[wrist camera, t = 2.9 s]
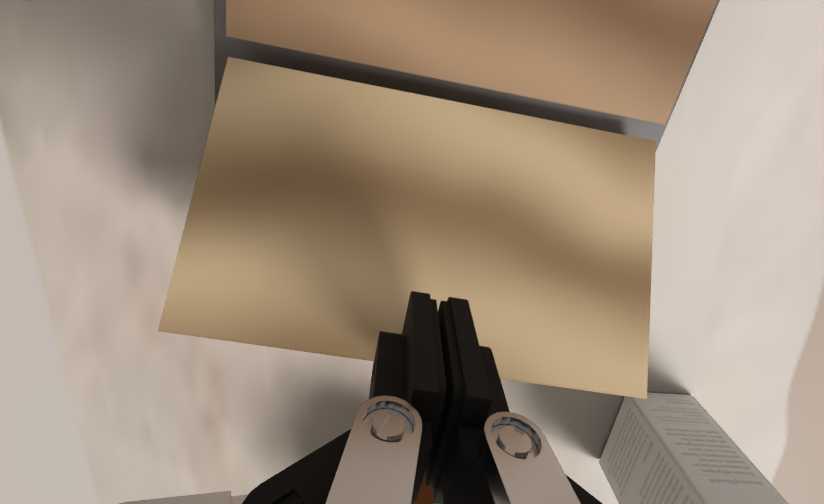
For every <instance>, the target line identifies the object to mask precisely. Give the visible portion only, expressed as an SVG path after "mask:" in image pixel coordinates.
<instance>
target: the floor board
mask: <svg viewBox="0 0 824 504" xmlns="http://www.w3.org/2000/svg"><path fill="white" fill-rule="evenodd" d="M719 1H720V0H214V26H215V106H216V102H217V98H218V94H219V90H220V86H221V83H222V79H223V75H224V71H225V67H226V63H227V59H228V57H232V58H237V59H242V60H247V61H252V62H257V63H262V64H267V65H272V66H277V67H283V68H288V69H293V70H298V71H303V72H308V73H313V74H318V75H323V76H328V77H333V78H338V79H343V80H348V81H354V82H359V83H364V84H369V85H374V86H379V87H384V88H389V89H394V90H399V91H404V92H409V93H414V94H419V95H425V96H430V97H435V98H440V99H445V100H450V101H455V102H460V103H465V104H470V105H475V106H480V107H485V108H490V109H495V110H501V111H506V112H511V113H516V114H521V115H526V116H531V117H536V118H541V119H546V120H551V121H556V122H561V123H566V124H572V125H577V126H582V127H587V128H592V129H597V130H602V131H607V132H612V133H617V134H622V135H627V136H632V137H637V138H642V139H648V140H653V141H656V144H655V152H656V150H657V147H658V145H659V143H660V140H661V138H662V136H663V133H664V131H665V128H666V126H667V124H668V121H669V119H670V117H671V114H672V112H673V110H674V107H675V105H676V102H677V100H678V98H679V95H680V93H681V91H682V88H683V86H684V84H685V81H686V79H687V76H688V74H689V72H690V69H691V67H692V65H693V62H694V60H695V58H696V55H697V53H698V50H699V48H700V46H701V43H702V41H703V39H704V36H705V34H706V32H707V29H708V27H709V24H710V22H711V20H712V17H713V15H714V13H715V10H716V8H717V6H718V3H719Z"/></svg>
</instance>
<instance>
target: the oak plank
mask: <svg viewBox="0 0 824 504" xmlns="http://www.w3.org/2000/svg"><path fill="white" fill-rule="evenodd" d="M655 144H656V141H653V140H648V139H642V138H637V137H632V136H627V135H622V134H617V133H612V132H607V131H602V130H597V129H592V128H587V127H582V126H577V125H572V124H566V123H561V122H556V121H551V120H546V119H541V118H536V117H531V116H526V115H521V114H516V113H511V112H506V111H501V110H495V109H490V108H485V107H480V106H475V105H470V104H465V103H460V102H455V101H450V100H445V99H440V98H435V97H430V96H425V95H419V94H414V93H409V92H404V91H399V90H394V89H389V88H384V87H379V86H374V85H369V84H364V83H359V82H354V81H348V80H343V79H338V78H333V77H328V76H323V75H318V74H313V73H308V72H303V71H298V70H293V69H288V68H283V67H277V66H272V65H267V64H262V63H257V62H252V61H247V60H242V59H237V58H232V57H228V59H227V63H226V67H225V71H224V75H223V79H222V83H221V86H220V90H219V94H218V98H217V102H216V106H215V110H214V114H213V118H212V122H211V126H210V129H209V133H208V137H207V141H206V145H205V149H204V153H203V157H202V161H201V165H200V168H199V172H198V176H197V180H196V184H195V188H194V192H193V196H192V200H191V204H190V207H189V211H188V215H187V219H186V223H185V227H184V231H183V235H182V239H181V243H180V246H179V250H178V254H177V258H176V262H175V266H174V270H173V274H172V278H171V282H170V286H169V289H168V293H167V297H166V301H165V305H164V309H163V313H162V317H161V321H160V325H159V328H158V331H161V332H168V333H175V334H182V335H190V336H197V337H204V338H211V339H218V340H226V341H233V342H240V343H247V344H254V345H261V346H269V347H276V348H283V349H290V350H297V351H305V352H312V353H319V354H326V355H333V356H340V357H348V358H355V359H362V360H369V361H374V358H375V352H376V347H377V341H378V336H379V332H380V331H384V332H391V333H397V334H402V330H403V326H404V321H405V316H406V311H407V307H408V302H409V297H410V293H411V291H415V292H422V293H428V294H430V298H431V299H435V300H436V301H437V309H439V305H440V302H441V301H447V299H448V298H449V297H454V298H460V299H466V300H468V302H469V306H470V310H471V314H472V318H473V322H474V326H475V330H476V334H477V338H478V342H479V346H485V347H489V348H491V350H492V353H493V356H494V360H495V363H496V367H497V370H498V374H499V377H500V379H506V380H513V381H520V382H527V383H534V384H542V385H549V386H556V387H563V388H570V389H577V390H585V391H592V392H599V393H606V394H613V395H621V396H628V397H635V398H642V399H647V382H648V352H649V323H650V293H651V263H652V233H653V204H654V174H655Z"/></svg>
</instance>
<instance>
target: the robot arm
mask: <svg viewBox="0 0 824 504" xmlns="http://www.w3.org/2000/svg"><path fill="white" fill-rule="evenodd" d="M424 473H425V478H426V486H427V487H431V488H433V495H434V503H439V504H602V503H601V502H600V501H598V500H597V499H596V498H594V497H593V496H592V495H591V494H589V493H588V492H587V491H586V490H584V489H583V488H582V487H581V486H579V485H578V484H577V483H576V482H574V481H573V480H572V479H570V478H569V477H568V476H567V475H565V473H564V471H563V469H562V467H561V465H560V464H559V462H558V460H557V458H556V456H555V454H554V452H553V450H552V448H551V446H550V445H549V443H548V441H547V439H546V437H545V435H544V434H543V433H542V431H541V430H540V429H539V428H538V427H537V426H536V425H535V424H534V423H533V422H532V421H530V420H528V419H527V418H525V417H524V416H521V415H518V414H516V413H511V412H509V408H508V405H507V402H506V398H505V395H504V391H503V388H502V384H501V381H500V377H499V374H498V370H497V367H496V363H495V360H494V356H493V353H492V350H491V348H489V347H485V346H479V342H478V338H477V334H476V330H475V326H474V322H473V318H472V314H471V310H470V306H469V302H468V300H466V299H460V298H454V297H449V298H448V299H447V301H441V302H440V305H439V309H437V301H436V300H435V299H431V298H430V294H428V293H422V292H415V291H411V293H410V297H409V302H408V307H407V311H406V316H405V321H404V326H403V330H402V334H397V333H391V332H384V331H380V332H379V336H378V341H377V347H376V352H375V358H374V364H373V371H372V378H371V386H370V394H369V400H367V401H366V402H365V403H364V404H362V405H361V407H360V409H359V410H358V412H357V415H356V417H355V420H354V423H353V426H352V429H350V430H349V431H347V432H345V433H344V434H342V435H340V436H339V437H337V438H335V439H334V440H332V441H330V442H329V443H327V444H326V445H324V446H322V447H321V448H319V449H317V450H316V451H314V452H312V453H311V454H309V455H307V456H306V457H304V458H302V459H301V460H299V461H298V462H296V463H294V464H293V465H291V466H289V467H288V468H286V469H284V470H283V471H281V472H279V473H278V474H276V475H275V476H273V477H271V478H270V479H268V480H266V481H265V482H263V483H261V484H260V485H259V486H257V487H256V488H255V489H254V490H252V491H251V492H250V493H249V495H240V496H231V491H224V492H215V493H206V494H196V495H187V496H178V497H168V498H159V499H150V500H140V501H131V502H123V503H120V504H413V503H414V502H415V501H416V500H417V497H418V493H419V490H420V486H421V483H422V480H423V477H424Z"/></svg>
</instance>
